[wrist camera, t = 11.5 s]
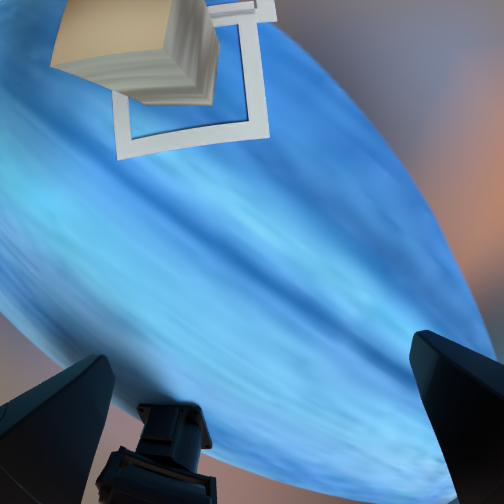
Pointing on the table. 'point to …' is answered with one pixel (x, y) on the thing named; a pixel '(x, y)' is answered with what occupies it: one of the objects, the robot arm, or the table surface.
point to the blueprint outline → (214, 134)
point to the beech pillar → (141, 48)
